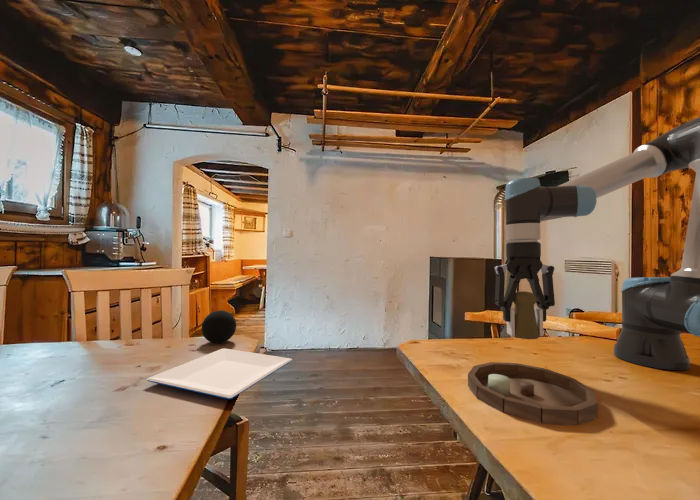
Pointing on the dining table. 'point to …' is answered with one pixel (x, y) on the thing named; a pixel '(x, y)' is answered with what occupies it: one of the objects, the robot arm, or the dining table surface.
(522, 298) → the olive green knobbed peg
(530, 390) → the tray
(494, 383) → the pale beige rounded lump
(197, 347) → the dining table surface
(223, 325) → the decorative ball
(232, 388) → the plate
